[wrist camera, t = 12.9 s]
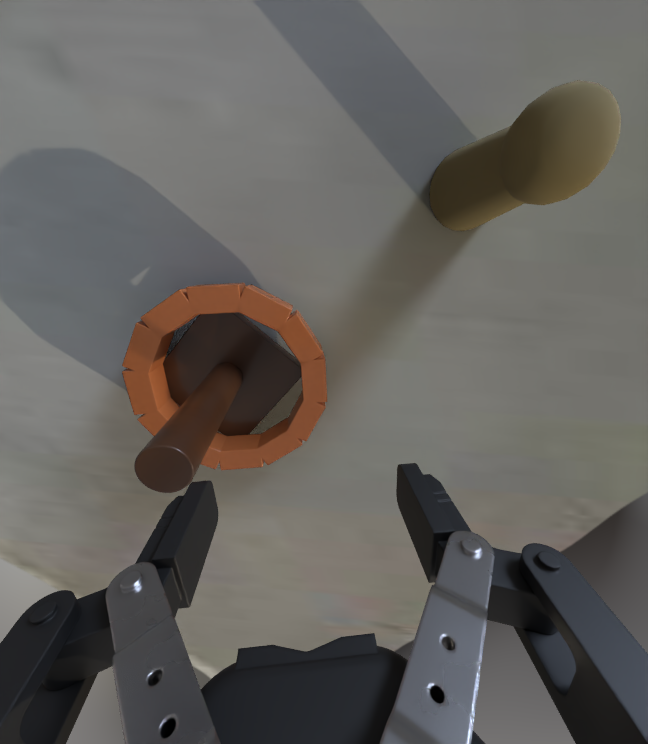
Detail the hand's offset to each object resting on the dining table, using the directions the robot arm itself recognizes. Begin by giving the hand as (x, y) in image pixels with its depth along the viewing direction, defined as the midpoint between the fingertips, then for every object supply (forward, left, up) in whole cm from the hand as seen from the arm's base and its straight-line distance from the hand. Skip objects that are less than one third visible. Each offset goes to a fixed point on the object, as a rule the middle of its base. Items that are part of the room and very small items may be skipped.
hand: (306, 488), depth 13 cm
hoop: (-4, -4, -15) cm, 16 cm away
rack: (-5, -5, -17) cm, 18 cm away
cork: (0, +20, -17) cm, 26 cm away
